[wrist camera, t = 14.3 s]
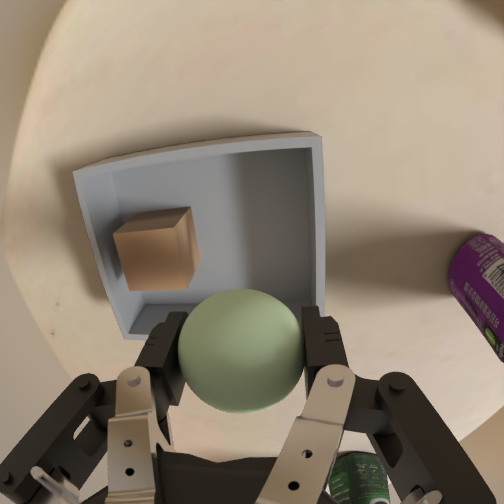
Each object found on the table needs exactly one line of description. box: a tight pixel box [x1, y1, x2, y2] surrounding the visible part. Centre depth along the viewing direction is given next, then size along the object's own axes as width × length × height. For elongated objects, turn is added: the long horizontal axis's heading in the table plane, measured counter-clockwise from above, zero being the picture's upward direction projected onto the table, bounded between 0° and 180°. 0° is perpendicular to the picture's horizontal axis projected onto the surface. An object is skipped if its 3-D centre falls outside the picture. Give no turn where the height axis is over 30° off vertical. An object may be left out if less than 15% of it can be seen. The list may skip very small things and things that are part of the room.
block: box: [113, 207, 200, 291], centre depth 22 cm, size 4×4×4 cm
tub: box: [72, 132, 325, 340], centre depth 22 cm, size 14×16×5 cm
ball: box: [178, 289, 305, 414], centre depth 12 cm, size 5×5×5 cm
